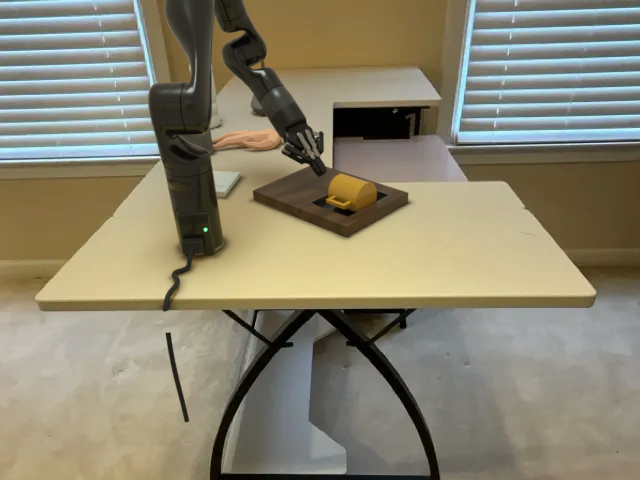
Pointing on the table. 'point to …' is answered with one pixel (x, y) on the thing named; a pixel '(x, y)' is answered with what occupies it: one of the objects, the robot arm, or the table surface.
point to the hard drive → (225, 181)
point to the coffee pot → (254, 102)
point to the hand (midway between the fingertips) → (323, 174)
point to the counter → (307, 186)
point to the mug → (351, 193)
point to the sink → (322, 203)
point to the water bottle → (213, 105)
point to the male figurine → (249, 139)
